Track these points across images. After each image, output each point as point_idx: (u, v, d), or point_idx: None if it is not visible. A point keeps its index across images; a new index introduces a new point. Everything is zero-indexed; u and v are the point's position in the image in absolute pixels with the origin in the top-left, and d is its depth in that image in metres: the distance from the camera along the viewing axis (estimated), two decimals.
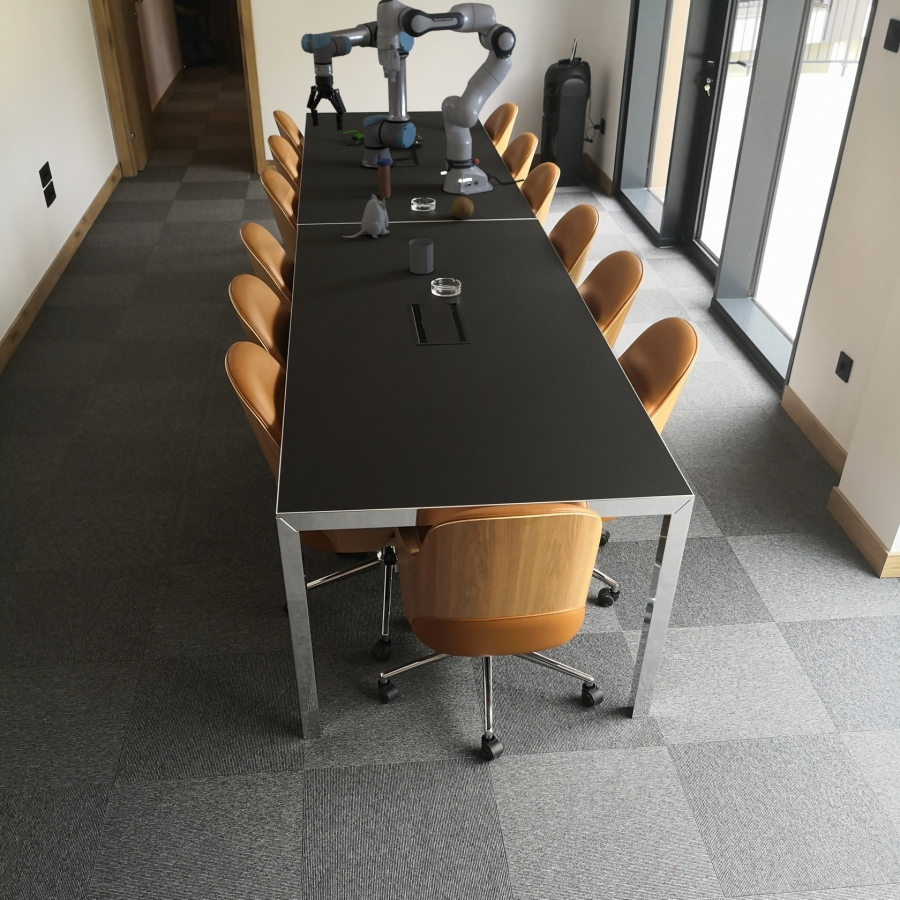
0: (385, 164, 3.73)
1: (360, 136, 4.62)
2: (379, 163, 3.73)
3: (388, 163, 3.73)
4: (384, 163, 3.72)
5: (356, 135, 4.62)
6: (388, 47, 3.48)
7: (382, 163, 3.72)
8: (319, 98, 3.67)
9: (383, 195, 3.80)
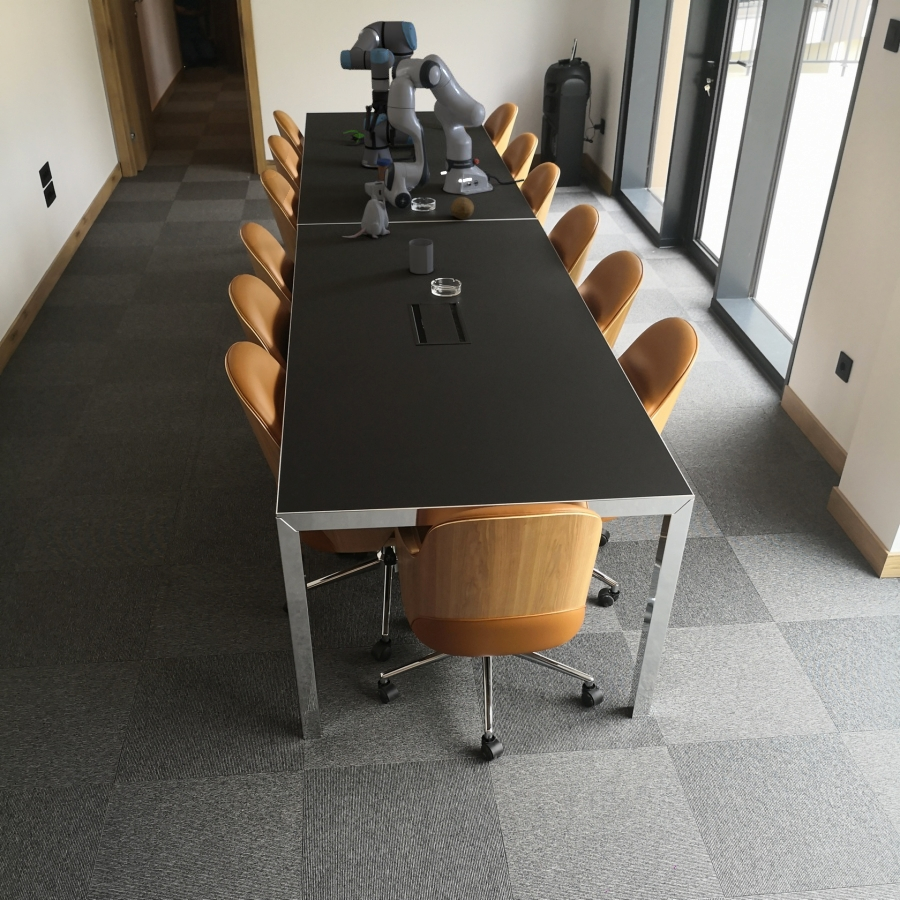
0: (385, 164, 3.73)
1: (360, 136, 4.62)
2: (379, 163, 3.73)
3: (388, 163, 3.73)
4: (384, 163, 3.72)
5: (356, 135, 4.62)
6: None
7: (382, 163, 3.72)
8: (386, 114, 3.66)
9: None
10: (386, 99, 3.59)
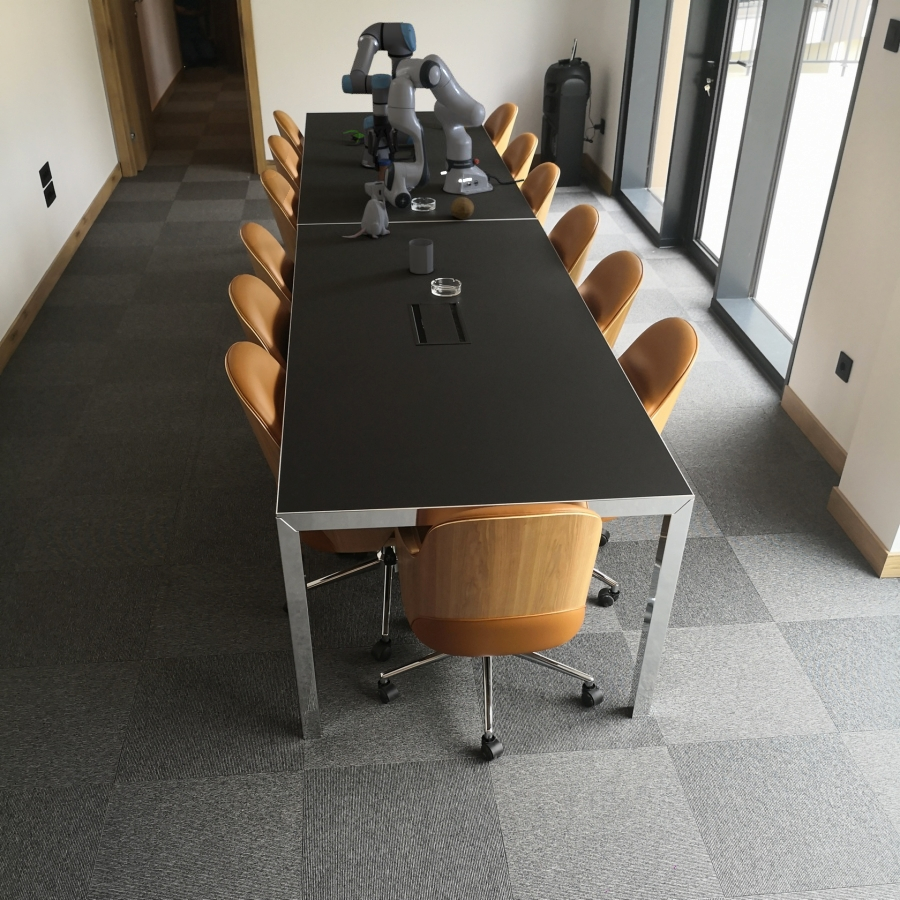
0: (385, 164, 3.73)
1: (360, 136, 4.62)
2: (379, 163, 3.73)
3: (388, 163, 3.73)
4: (384, 163, 3.72)
5: (356, 135, 4.62)
6: None
7: (382, 163, 3.72)
8: (386, 138, 3.71)
9: None
10: (387, 123, 3.64)
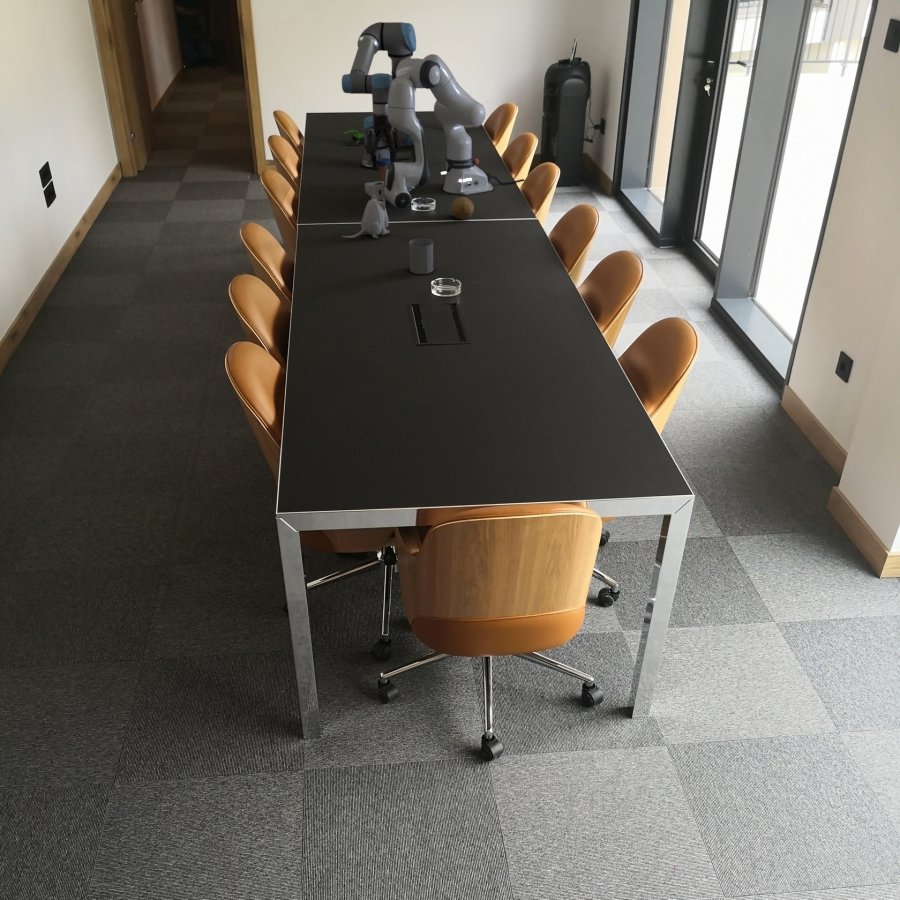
0: (390, 162, 3.75)
1: (360, 136, 4.62)
2: (387, 162, 3.73)
3: None
4: (390, 161, 3.75)
5: (356, 135, 4.62)
6: None
7: (389, 161, 3.74)
8: (386, 137, 3.71)
9: None
10: (387, 123, 3.64)
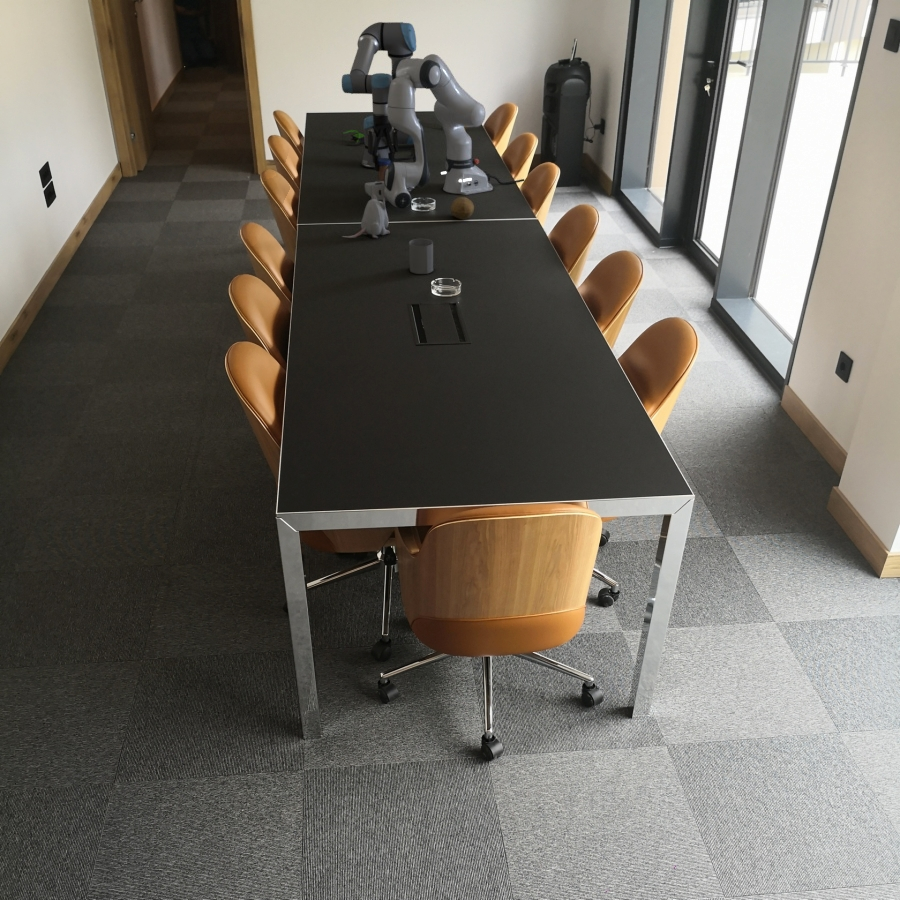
0: (390, 162, 3.75)
1: (360, 136, 4.62)
2: (387, 162, 3.73)
3: None
4: (390, 161, 3.75)
5: (356, 135, 4.62)
6: None
7: (389, 161, 3.74)
8: (386, 137, 3.71)
9: None
10: (387, 123, 3.64)
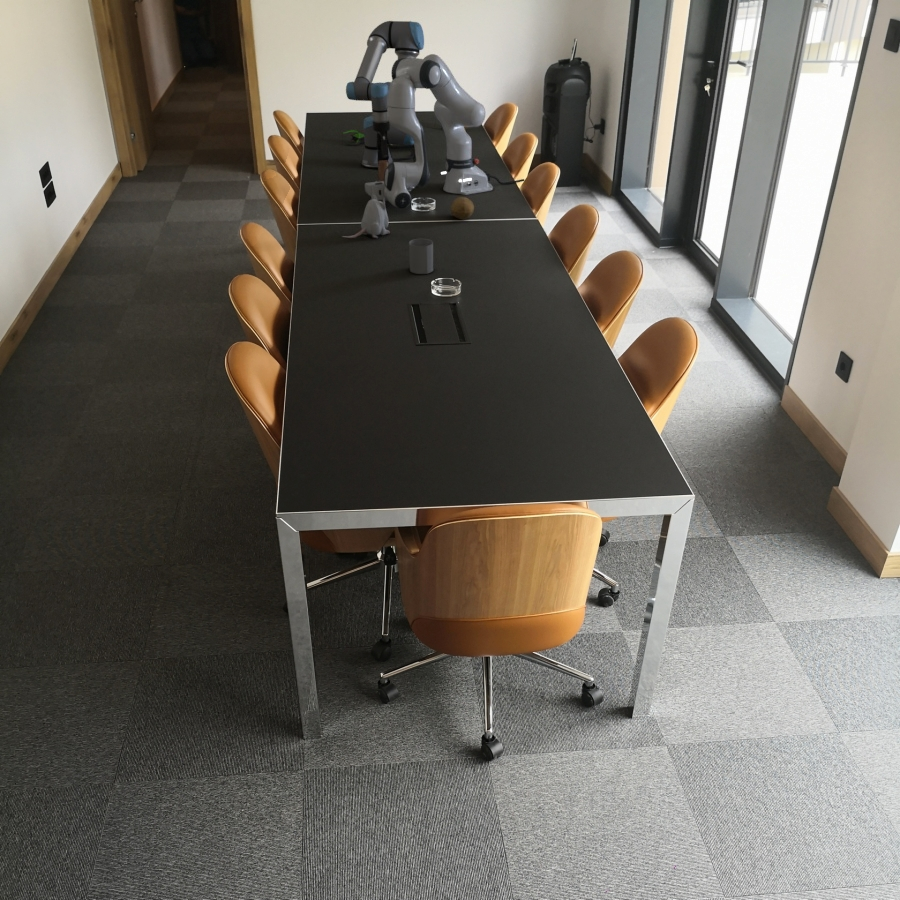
0: None
1: (360, 136, 4.62)
2: None
3: None
4: None
5: (356, 135, 4.62)
6: None
7: None
8: None
9: None
10: None
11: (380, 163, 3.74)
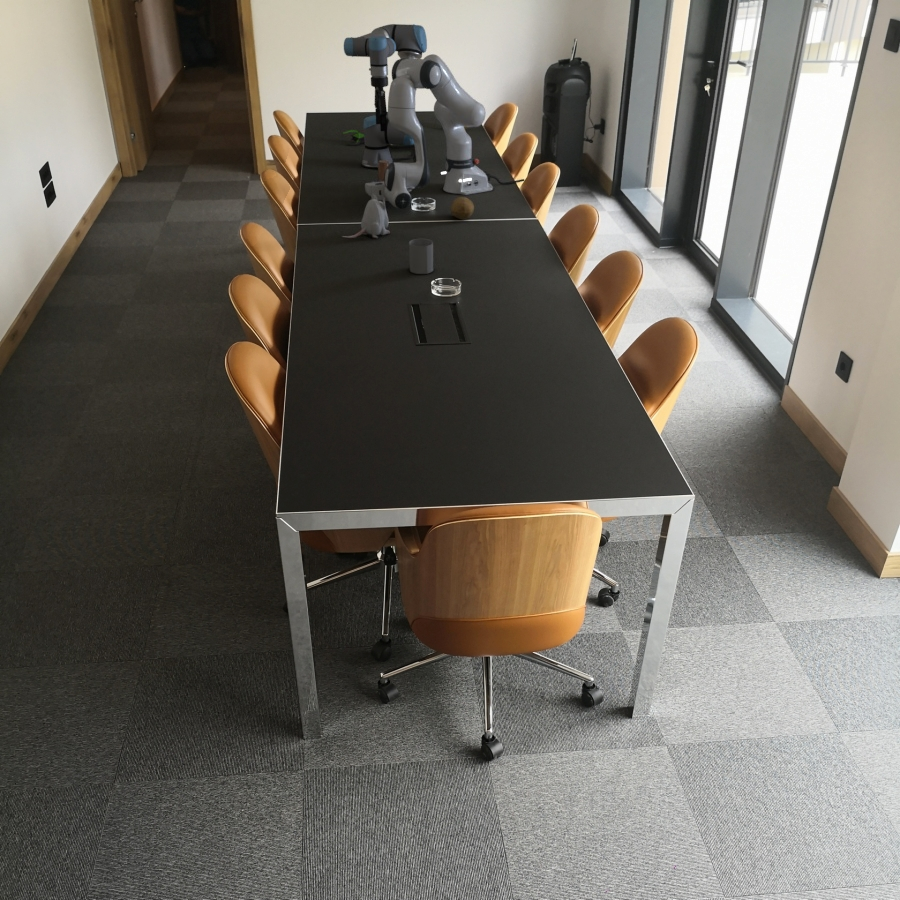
0: None
1: (360, 136, 4.62)
2: None
3: None
4: None
5: (356, 135, 4.62)
6: None
7: None
8: None
9: None
10: None
11: (380, 163, 3.74)
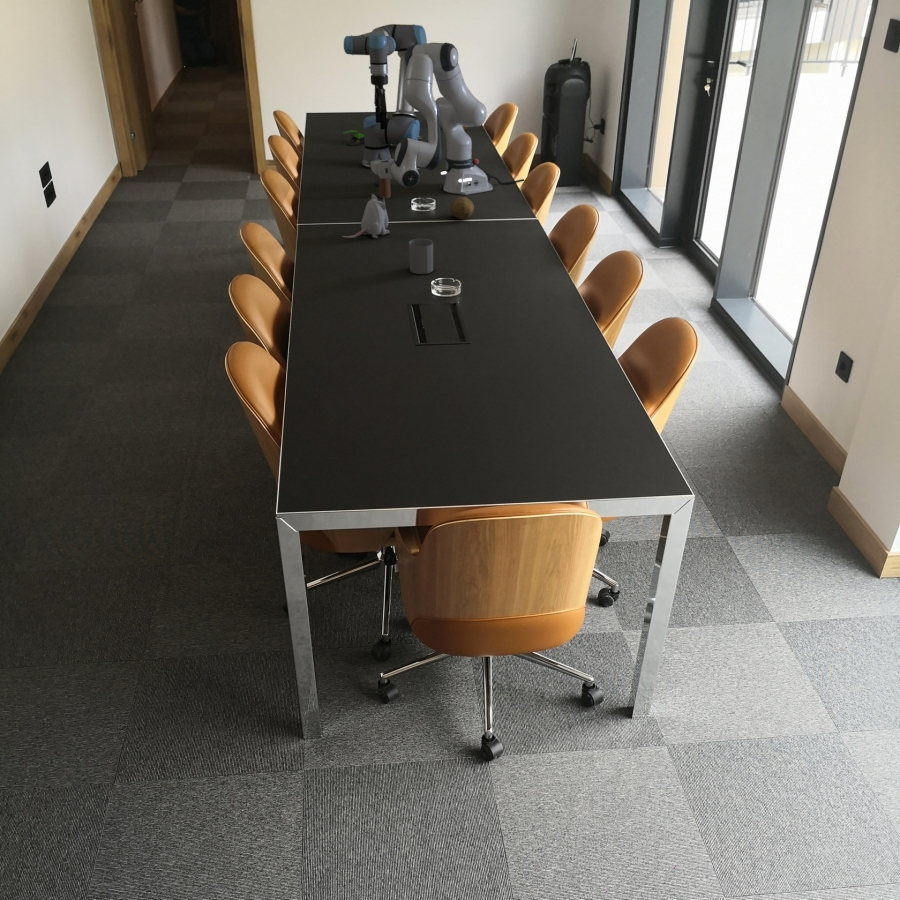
0: None
1: (360, 136, 4.62)
2: None
3: None
4: None
5: (356, 135, 4.62)
6: None
7: None
8: None
9: (383, 195, 3.80)
10: None
11: None
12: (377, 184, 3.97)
